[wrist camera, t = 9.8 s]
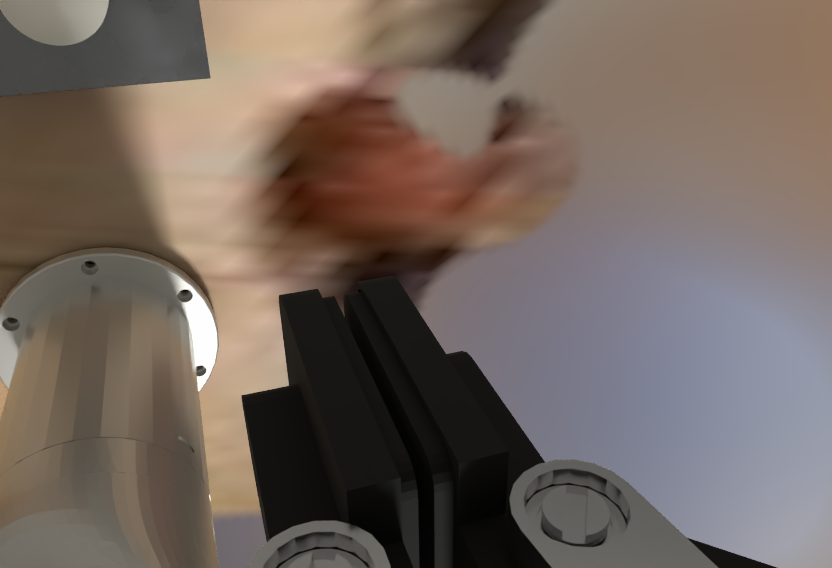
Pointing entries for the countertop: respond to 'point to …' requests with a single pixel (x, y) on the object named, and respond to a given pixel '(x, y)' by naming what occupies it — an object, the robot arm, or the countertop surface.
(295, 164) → the countertop surface
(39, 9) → the knob
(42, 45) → the housing
